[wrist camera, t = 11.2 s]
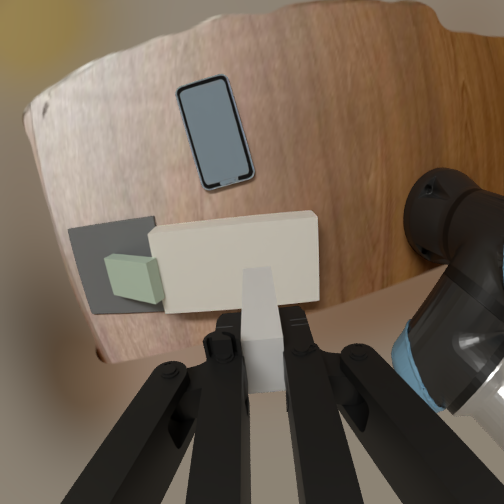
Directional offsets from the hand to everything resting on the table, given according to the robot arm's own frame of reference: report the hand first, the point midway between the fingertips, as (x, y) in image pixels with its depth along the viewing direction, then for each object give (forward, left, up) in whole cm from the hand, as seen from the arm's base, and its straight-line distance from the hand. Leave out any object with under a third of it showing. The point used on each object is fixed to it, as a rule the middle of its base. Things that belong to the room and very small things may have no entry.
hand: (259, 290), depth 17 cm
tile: (+18, +8, -24) cm, 31 cm away
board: (+3, +8, -26) cm, 28 cm away
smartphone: (+4, -10, -27) cm, 29 cm away
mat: (+22, +8, -26) cm, 35 cm away
